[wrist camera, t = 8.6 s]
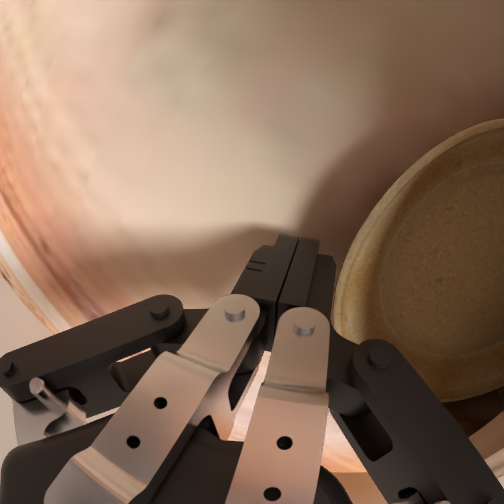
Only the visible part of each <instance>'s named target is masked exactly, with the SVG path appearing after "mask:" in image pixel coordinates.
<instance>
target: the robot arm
mask: <svg viewBox="0 0 504 504" xmlns="http://www.w3.org/2000/svg"><path fill="white" fill-rule="evenodd" d="M319 242H320V240H314V239H308V238H301V237H300V240H299V237H295V236H288V235H281V234H280V235H279V236H278V239H277V241H276V243H275V245H274V247H273V246H267V245H263V246H262V247H260V248H259V249H257V250H256V251H255V252H254V253H253V255H252V257H251V259H250V261H249V262H248V264H247V266H246V268H245V269H244V271H243V273H242V275H241V276H240V278H239V280H238V282H237V283H236V285H235V287H234V289H233V291H232V292H231V294H230V295H226V296H223V297H221V298H219V299H218V300H216V301H215V302H214V303H213V304H212V306H211V307H210V308H208V309H183V305H182V303H181V301H180V300H179V299H178V298H176V297H174V296H171V295H157V296H154V297H151V298H148V299H146V300H143V301H141V302H138V303H136V304H133V305H130V306H128V307H125V308H123V309H120V310H118V311H115V312H112V313H110V314H107V315H105V316H102V317H100V318H97V319H94V320H92V321H89V322H87V323H84V324H82V325H79V326H76V327H74V328H71V329H69V330H66V331H63V332H61V333H58V334H56V335H53V336H50V337H48V338H45V339H43V340H40V341H37V342H35V343H32V344H30V345H27V346H24V347H22V348H19V349H16V350H14V351H11V352H8V353H6V354H5V355H4V356H2V357H1V358H0V387H1V388H2V389H3V390H4V391H5V392H6V393H7V394H8V395H9V396H10V397H11V398H12V401H13V412H14V422H15V429H16V436H17V443H18V446H17V447H16V448H14V449H12V450H11V451H10V452H9V453H8V455H7V456H6V457H5V459H4V461H3V464H2V468H1V482H0V483H1V484H0V504H353V503H352V502H351V500H350V498H349V496H348V494H347V492H346V491H345V489H344V487H343V486H342V484H341V483H340V482H339V480H338V479H337V478H336V477H335V476H334V475H333V474H332V473H331V472H330V471H328V470H327V469H326V468H324V467H323V466H321V458H322V452H323V445H324V438H325V430H326V422H327V413H328V408H330V412H331V414H332V416H333V418H334V419H335V421H336V423H337V424H338V426H339V427H340V429H341V431H342V432H343V434H344V435H345V437H346V439H347V440H348V442H349V443H350V445H351V447H352V448H353V450H354V451H355V453H356V454H357V456H358V458H359V459H360V461H361V462H362V464H363V466H364V467H365V469H366V470H367V472H368V473H369V475H370V476H371V478H372V480H373V481H374V482H375V484H376V485H377V487H378V489H379V490H380V492H381V493H382V495H383V496H384V498H385V500H386V501H387V503H388V504H504V489H503V487H502V485H501V484H500V482H499V481H498V479H497V478H496V476H495V475H494V473H493V472H492V470H491V469H490V467H489V466H488V465H487V463H486V462H485V460H484V459H483V457H482V456H481V455H480V453H479V452H478V450H477V449H476V448H475V446H474V445H473V444H472V442H471V441H470V439H469V438H468V437H467V435H466V434H465V433H464V431H463V430H462V429H461V427H460V426H459V425H458V423H457V422H456V421H455V419H454V418H453V417H452V416H451V414H450V413H449V412H448V410H447V409H446V408H445V407H444V405H443V404H442V403H441V401H440V400H439V399H438V398H437V396H436V395H435V394H434V393H433V391H432V390H431V389H430V388H429V387H428V385H427V384H426V383H425V382H424V380H423V379H422V378H421V377H420V376H419V374H418V373H417V372H416V371H415V369H414V368H413V367H412V366H411V365H410V363H409V362H408V361H407V360H406V359H405V358H404V356H403V355H402V354H401V353H400V352H399V350H398V349H397V348H396V347H395V346H393V345H392V344H391V343H389V342H387V341H384V340H381V339H369V340H366V341H363V342H361V343H360V344H359V345H358V344H356V343H354V342H352V341H350V340H347V339H346V338H344V337H342V336H341V335H339V334H338V333H337V332H336V330H335V329H334V328H333V326H332V324H331V320H330V313H331V306H332V298H333V290H334V282H335V273H336V264H335V262H334V260H333V258H332V256H329V255H323V254H318V250H319ZM148 348H151V350H149V351H147V352H144V353H142V354H139V355H137V356H135V357H132V358H130V359H127V360H125V361H122V362H116V361H118V360H121V359H123V358H126V357H128V356H131V355H133V354H136V353H138V352H140V351H143V350H145V349H148ZM264 350H265V351H270V352H271V356H270V360H269V364H268V368H267V372H266V376H265V379H264V382H263V383H262V384H261V386H260V389H259V392H258V395H257V399H256V403H255V406H254V410H253V413H252V417H251V420H250V424H249V427H248V431H247V434H246V438H245V441H244V442H240V441H227V440H228V438H229V435H230V433H231V431H232V428H233V424H234V420H235V417H236V414H237V412H238V410H239V408H240V406H241V404H242V402H243V400H244V398H245V396H246V394H247V392H248V390H249V388H250V386H251V384H252V382H253V380H254V378H255V376H256V374H257V372H258V369H259V363H260V361H261V359H262V356H263V353H264ZM119 406H120V407H119ZM116 407H119V409H118V410H117V411H116V413H113V414H111V415H108V416H106V417H103V418H101V419H98V420H95V421H93V422H90V423H87V422H86V421H85V419H86V418H89V417H92V416H94V415H97V414H100V413H103V412H106V411H109V410H111V409H114V408H116Z"/></svg>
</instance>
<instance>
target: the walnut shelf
mask: <svg viewBox="0 0 504 504" xmlns="http://www.w3.org/2000/svg"><path fill="white" fill-rule="evenodd" d="M441 403H442V404H443V405H444V407H445V408H446V409H447V410H448V412H449V413H450V414H451V416H452V417H453V418H454V419H455V421H456V422H457V423H458V425H459V426H460V427H461V429H462V430H463V431H464V433H465V434H466V435H467V437H468V438H469V439H470V441H471V442H472V444H473V445H474V446H475V448H476V449H477V450H478V452H479V453H480V455H481V456H482V457H483V459H484V460H485V462H486V463H487V465H488V466H489V467H490V469H491V470H492V472H493V473H494V475H495V476H496V478H499V477H501V476H503V475H504V386H502V387H500V388H498V389H495V390H493V391H491V392H488V393H486V394H483V395H479V396H475V397H471V398H468V399H464V400H458V401H451V402H441Z"/></svg>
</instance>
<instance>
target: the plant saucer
mask: <svg viewBox="0 0 504 504" xmlns="http://www.w3.org/2000/svg"><path fill="white" fill-rule="evenodd" d="M333 319H334V329H335V330H336V332H337V333H338V334H339V335H341V336H342V337H344V338H346V339H347V340H350V341H352V342H354V343H356V344H358V345H359V344H360V343H361V342H363V341H366V340H369V339H381V340H384V341H387V342H389V343H391V344H392V345H393V346H395V347H396V348H397V349H398V350H399V352H400V353H401V354H402V355H403V356H404V358H405V359H406V360H407V361H408V362H409V363H410V365H411V366H412V367H413V368H414V369H415V371H416V372H417V373H418V374H419V376H420V377H421V378H422V379H423V380H424V382H425V383H426V384H427V385H428V387H429V388H430V389H431V390H432V391H433V393H434V394H435V395H436V396H437V398H438V399H439V400H440V401H441V402H451V401H458V400H464V399H468V398H471V397H475V396H479V395H483V394H486V393H488V392H491V391H493V390H495V389H498V388H500V387H502V386H504V118H502V119H495V120H490V121H486V122H482V123H480V124H477V125H474V126H472V127H469V128H467V129H465V130H463V131H461V132H459V133H457V134H455V135H453V136H452V137H450V138H448V139H446V140H445V141H443V142H442V143H440V144H439V145H437V146H436V147H434V148H433V149H431V150H430V151H429V152H427V153H426V154H425V155H423V156H422V157H421V158H420V159H419V160H417V161H416V162H415V163H414V164H413V165H412V166H411V167H409V168H408V169H407V170H406V171H405V172H404V173H403V174H402V175H401V176H400V177H399V178H398V179H397V180H396V182H395V183H394V184H393V185H392V186H391V187H390V188H389V189H388V190H387V191H386V193H385V194H384V195H383V196H382V198H381V199H380V201H379V202H378V203H377V204H376V205H375V206H374V208H373V209H372V211H371V213H370V214H369V215H368V217H367V218H366V220H365V221H364V223H363V225H362V226H361V228H360V230H359V231H358V233H357V235H356V237H355V238H354V240H353V242H352V244H351V247H350V248H349V250H348V253H347V255H346V258H345V260H344V263H343V265H342V268H341V271H340V273H339V277H338V280H337V284H336V289H335V297H334V314H333Z"/></svg>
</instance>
